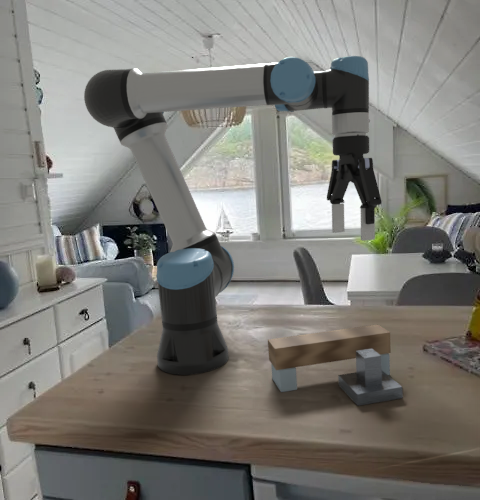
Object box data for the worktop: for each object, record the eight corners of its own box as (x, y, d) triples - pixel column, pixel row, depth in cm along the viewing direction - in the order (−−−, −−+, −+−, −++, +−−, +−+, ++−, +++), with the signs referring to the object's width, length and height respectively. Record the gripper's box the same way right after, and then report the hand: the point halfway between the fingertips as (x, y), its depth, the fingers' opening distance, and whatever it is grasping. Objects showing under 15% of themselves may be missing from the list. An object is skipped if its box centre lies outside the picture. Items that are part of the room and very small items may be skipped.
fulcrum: (357, 405, 80) (356, 365, 79) (338, 385, 88) (337, 348, 87) (402, 398, 82) (401, 358, 81) (380, 378, 89) (379, 342, 88)
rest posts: (281, 392, 87) (279, 370, 86) (272, 378, 93) (270, 358, 92) (389, 374, 91) (389, 354, 90) (375, 362, 97) (374, 343, 96)
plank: (276, 370, 87) (274, 348, 86) (269, 359, 92) (267, 339, 91) (390, 352, 91) (390, 332, 90) (377, 344, 96) (377, 324, 95)
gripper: (399, 129, 92) (399, 241, 95) (340, 139, 115) (342, 228, 119) (363, 131, 90) (364, 245, 93) (311, 140, 114) (313, 230, 117)
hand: (352, 236), depth 106 cm, fingers open, 13 cm apart
